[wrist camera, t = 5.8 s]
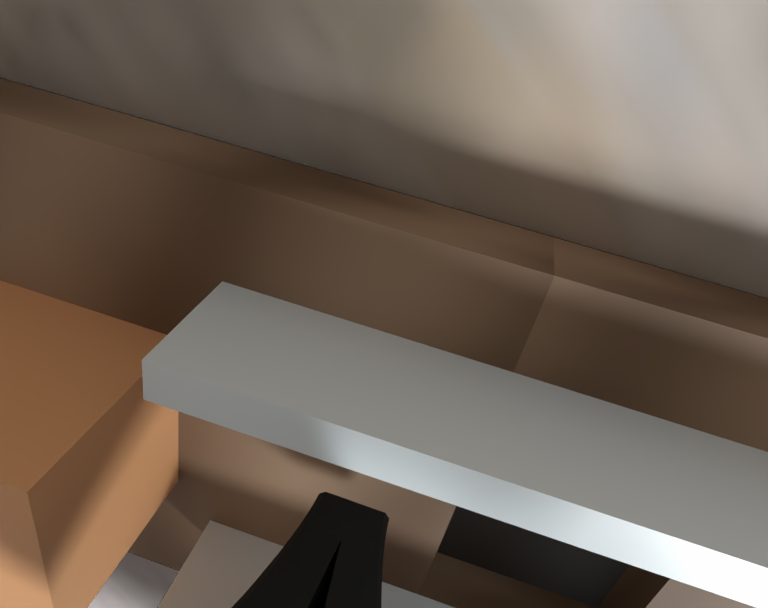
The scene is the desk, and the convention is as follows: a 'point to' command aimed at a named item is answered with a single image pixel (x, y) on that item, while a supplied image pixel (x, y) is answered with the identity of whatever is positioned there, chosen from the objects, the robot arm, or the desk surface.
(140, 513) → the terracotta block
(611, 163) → the desk surface
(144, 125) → the trap deck
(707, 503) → the white slats
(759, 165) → the desk surface
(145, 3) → the desk surface
